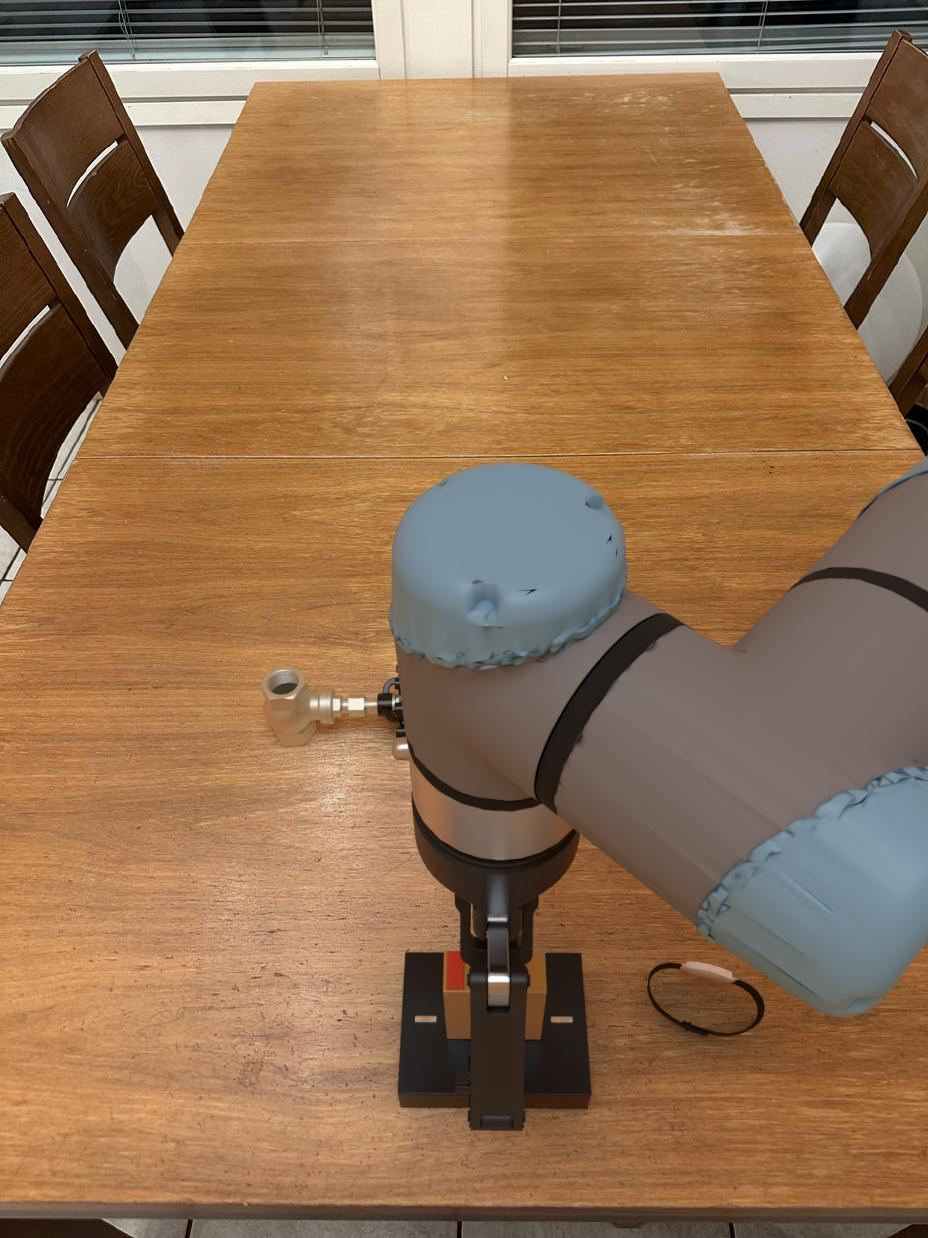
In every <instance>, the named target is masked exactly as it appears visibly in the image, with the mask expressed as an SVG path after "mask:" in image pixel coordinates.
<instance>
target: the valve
mask: <svg viewBox="0 0 928 1238" xmlns="http://www.w3.org/2000/svg"><path fill="white" fill-rule="evenodd" d="M395 672H396V673H397V676H395V677H392V678H390V679H387V681H386V682H385V683H384V684H383V686H382V687H383V688H382V692H378V693H377V697H376V698H367V695H366V694H365V693H350V694H349V695H348V697H347V698H343V695H342V694H341V693H338V694H337V693H336V690H335V688H334V687H322V688H320V690H319V691H311V690H310V688H309V683H308V681H307V679H306V678H305V675H304V674H303V673H302V671H301V669H300V668H299V666H293V665H281V666H275V667H273V668H272V669H270V670H269V672H267V673H266V675H264V677H263V679H262V680H261V681H260V682H259V686H260V688H261V689H260V690H261V692H262V696H263V697H264V701H263V712H264V716H265V718H266V720H267V722H268V723H269V725H270V726H271V727H272V731H273V732H274V734H275V737H276V738H277V740H278V742H279V743H280V745H281V746H283V747H300V746H305V745H306V744H308V743H309V741H310V740H311V739H312V738H313V736H314V735H315V734H316V732H317V730H318V724H317V721H320V724H321V725H334V724H335V722H336V718H342V716H343V714H345V713H346V714H347V713H348V715H349V716H348V717H349V718H365V717H366V716H367V712H377V717H378V718H384V719H385V720H386V721H388V722H391V723H395V724H399V727H395V739H396V738H400V737H406V732H405V726H404V717H403V709H402V700H401V691H400V682H399V674H398V665H397V664H396V665H395ZM392 686H394V690H395V691H398V693H397V692H390V689H391V687H392Z"/></svg>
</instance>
